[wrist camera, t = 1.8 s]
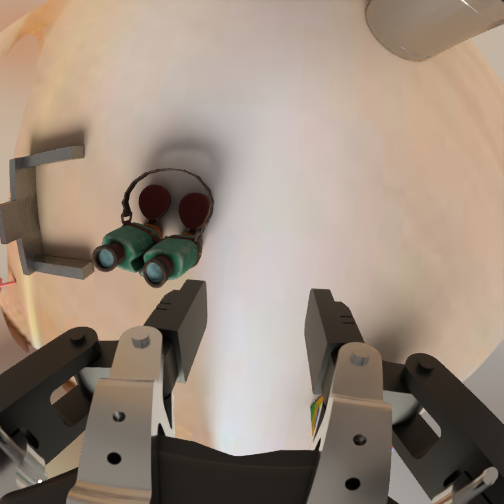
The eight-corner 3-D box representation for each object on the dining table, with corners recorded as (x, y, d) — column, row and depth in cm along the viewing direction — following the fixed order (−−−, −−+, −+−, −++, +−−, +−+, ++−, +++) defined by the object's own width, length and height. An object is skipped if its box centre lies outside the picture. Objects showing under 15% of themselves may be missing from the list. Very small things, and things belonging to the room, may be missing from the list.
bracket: (29, 157, 26) (-7, 162, 19) (84, 145, 25) (44, 147, 19) (40, 263, 31) (10, 282, 25) (93, 271, 31) (62, 296, 24)
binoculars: (201, 173, 17) (176, 312, 19) (224, 178, 27) (205, 269, 29) (90, 156, 16) (79, 280, 19) (146, 163, 27) (132, 250, 29)
